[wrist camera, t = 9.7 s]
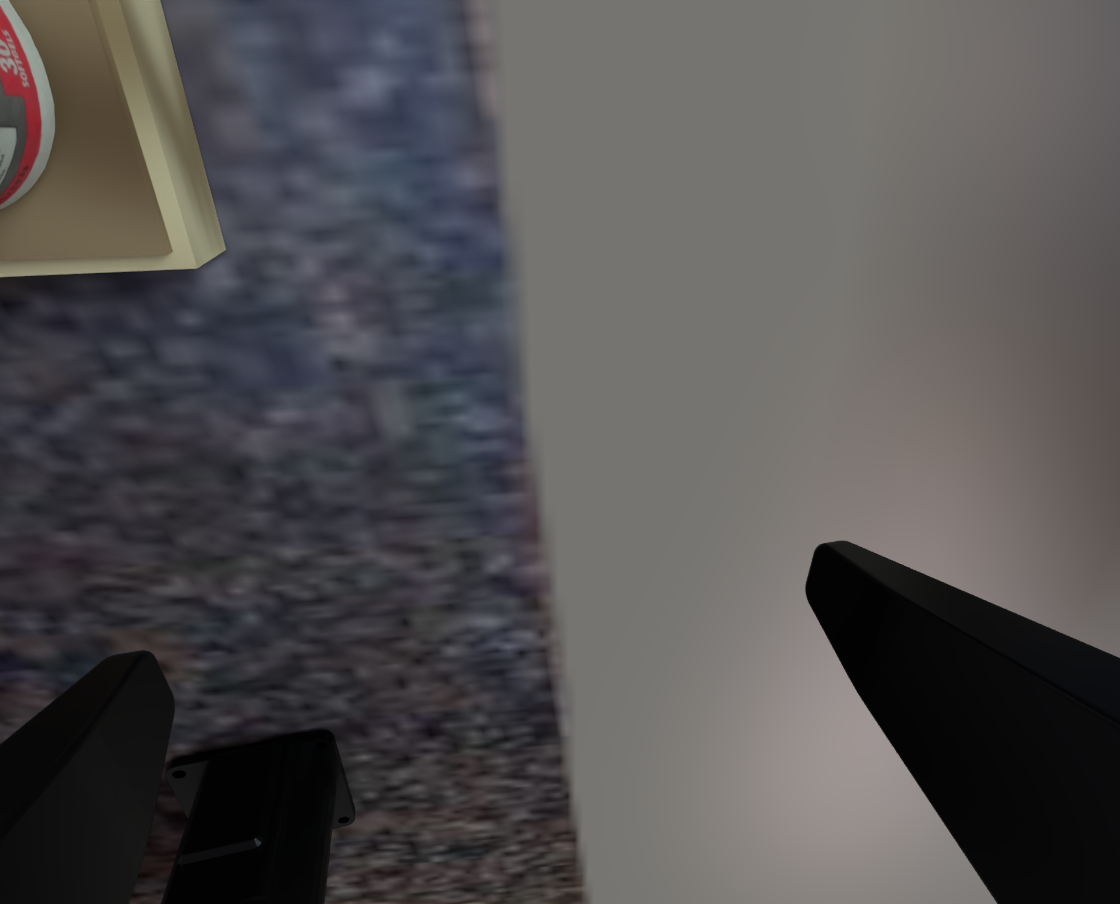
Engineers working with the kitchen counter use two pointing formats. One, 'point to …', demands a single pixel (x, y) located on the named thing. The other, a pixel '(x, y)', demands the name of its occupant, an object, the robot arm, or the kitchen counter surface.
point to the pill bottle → (22, 109)
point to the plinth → (111, 150)
